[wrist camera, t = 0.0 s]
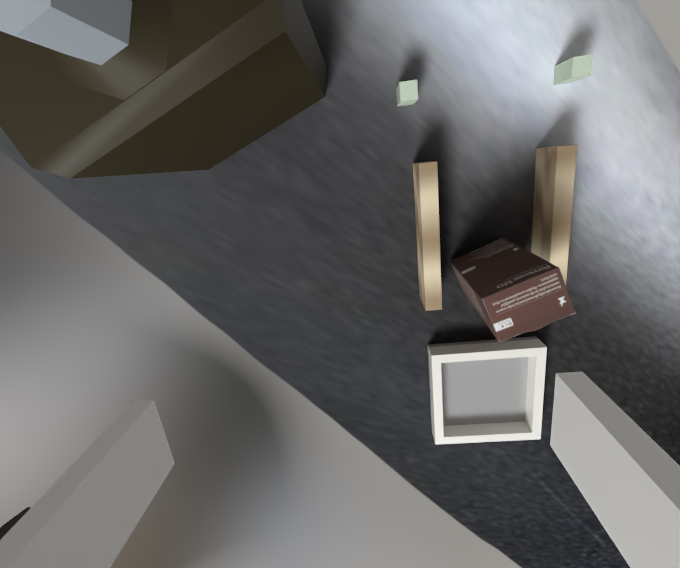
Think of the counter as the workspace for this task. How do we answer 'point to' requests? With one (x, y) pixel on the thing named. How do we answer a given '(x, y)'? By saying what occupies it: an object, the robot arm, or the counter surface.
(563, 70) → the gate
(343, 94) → the counter surface
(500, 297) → the box
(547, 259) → the channel
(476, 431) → the tray
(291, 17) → the bottle
